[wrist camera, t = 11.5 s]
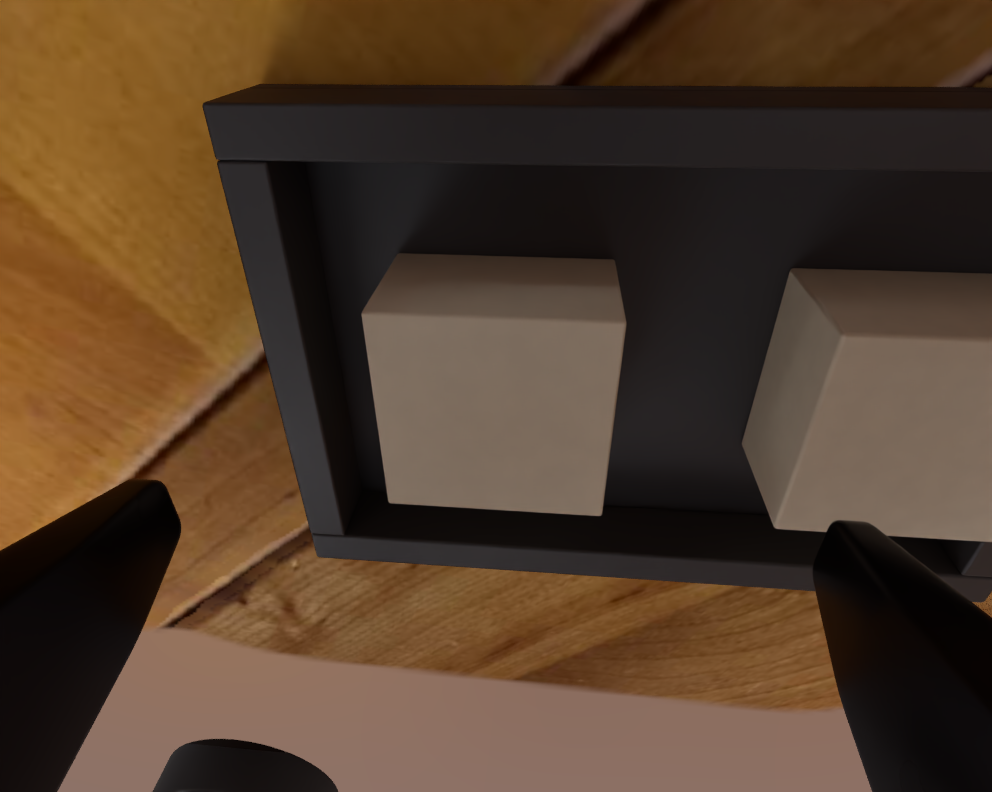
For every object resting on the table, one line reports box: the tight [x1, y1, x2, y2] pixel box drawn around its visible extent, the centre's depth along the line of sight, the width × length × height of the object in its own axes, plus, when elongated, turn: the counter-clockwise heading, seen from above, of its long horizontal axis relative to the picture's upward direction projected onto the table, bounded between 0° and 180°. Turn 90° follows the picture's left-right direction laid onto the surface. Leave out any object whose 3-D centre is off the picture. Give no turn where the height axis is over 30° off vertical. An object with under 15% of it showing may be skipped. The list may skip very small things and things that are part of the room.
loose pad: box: [362, 253, 626, 516], centre depth 11 cm, size 4×4×2 cm
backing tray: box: [203, 84, 992, 602], centre depth 12 cm, size 10×15×2 cm, turn 90°
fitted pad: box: [742, 268, 992, 542], centre depth 11 cm, size 4×4×2 cm
